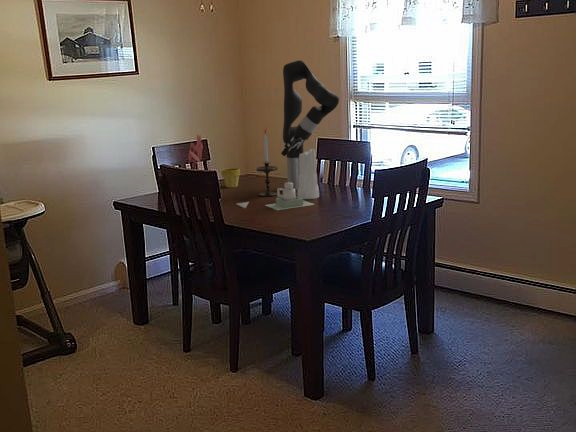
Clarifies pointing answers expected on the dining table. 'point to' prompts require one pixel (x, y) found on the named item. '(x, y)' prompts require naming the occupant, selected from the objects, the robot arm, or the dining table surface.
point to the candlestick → (266, 170)
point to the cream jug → (287, 192)
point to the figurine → (196, 148)
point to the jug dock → (288, 203)
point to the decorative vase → (308, 176)
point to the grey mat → (243, 204)
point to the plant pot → (231, 177)
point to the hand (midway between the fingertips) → (286, 154)
